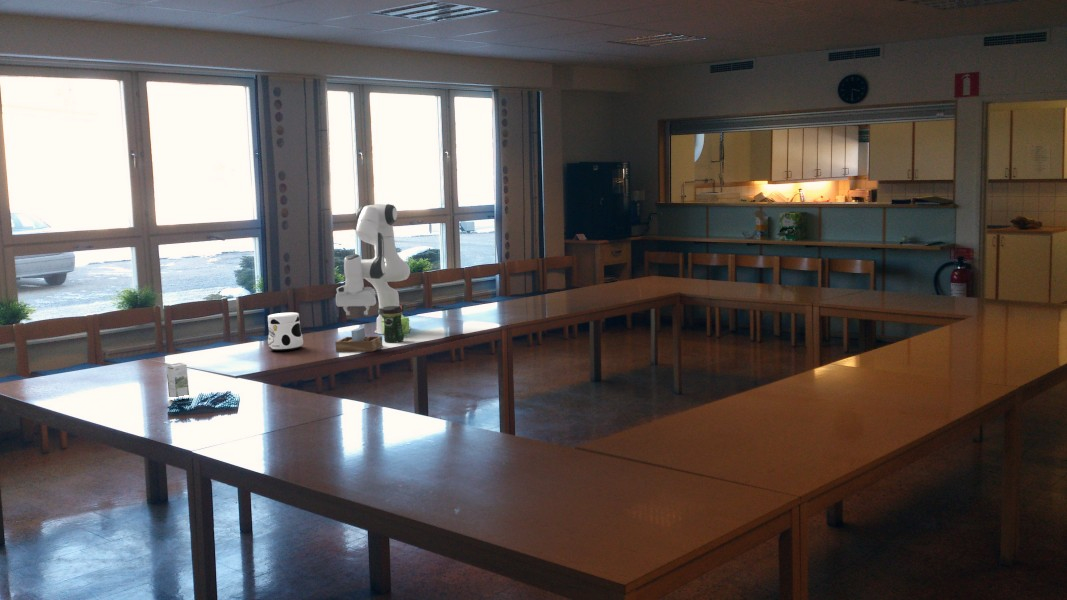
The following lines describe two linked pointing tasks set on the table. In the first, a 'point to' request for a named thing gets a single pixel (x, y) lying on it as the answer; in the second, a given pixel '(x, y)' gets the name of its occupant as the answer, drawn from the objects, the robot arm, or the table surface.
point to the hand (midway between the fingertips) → (357, 315)
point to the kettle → (404, 325)
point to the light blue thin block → (358, 334)
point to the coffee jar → (392, 324)
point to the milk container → (284, 332)
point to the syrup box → (177, 380)
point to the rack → (359, 344)
